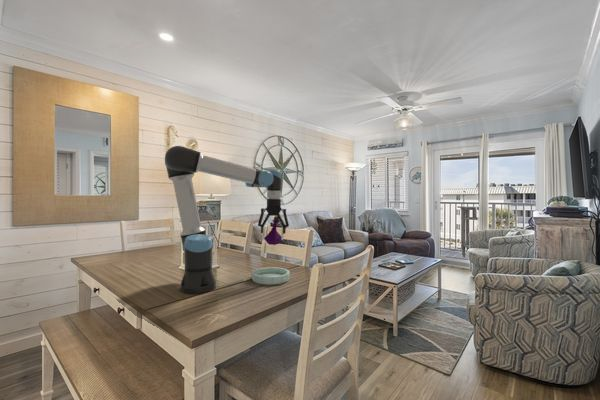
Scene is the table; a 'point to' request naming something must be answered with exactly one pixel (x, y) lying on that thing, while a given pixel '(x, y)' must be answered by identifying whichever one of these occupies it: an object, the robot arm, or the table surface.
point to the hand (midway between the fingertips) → (273, 239)
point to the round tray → (270, 275)
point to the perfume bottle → (273, 234)
